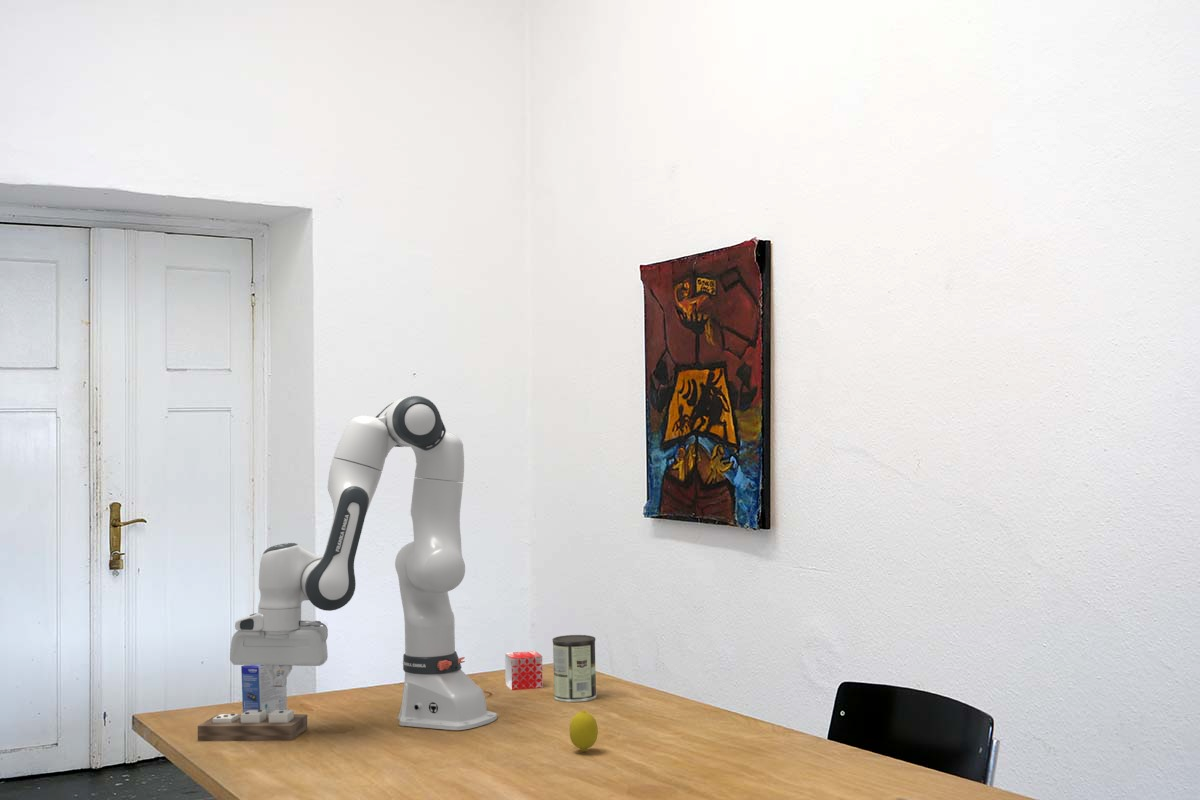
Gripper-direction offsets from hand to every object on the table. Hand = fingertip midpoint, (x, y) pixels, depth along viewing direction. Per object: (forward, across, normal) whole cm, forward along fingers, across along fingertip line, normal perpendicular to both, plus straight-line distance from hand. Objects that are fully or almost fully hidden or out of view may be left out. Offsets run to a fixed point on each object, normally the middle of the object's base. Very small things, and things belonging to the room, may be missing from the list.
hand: (278, 686), depth 237 cm
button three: (+9, +11, 0) cm, 14 cm away
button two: (+8, +5, 0) cm, 10 cm away
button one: (+8, -1, 0) cm, 8 cm away
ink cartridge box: (+10, +9, -18) cm, 22 cm away
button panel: (+10, +5, 0) cm, 11 cm away
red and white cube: (+9, -46, -48) cm, 67 cm away
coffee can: (+9, -60, -34) cm, 70 cm away
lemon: (+9, -66, +14) cm, 68 cm away
